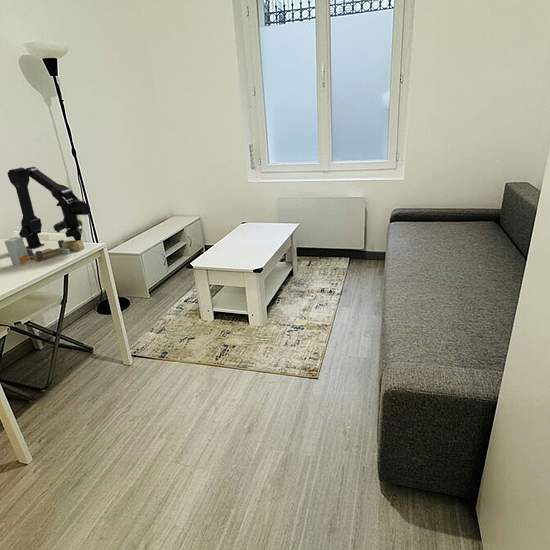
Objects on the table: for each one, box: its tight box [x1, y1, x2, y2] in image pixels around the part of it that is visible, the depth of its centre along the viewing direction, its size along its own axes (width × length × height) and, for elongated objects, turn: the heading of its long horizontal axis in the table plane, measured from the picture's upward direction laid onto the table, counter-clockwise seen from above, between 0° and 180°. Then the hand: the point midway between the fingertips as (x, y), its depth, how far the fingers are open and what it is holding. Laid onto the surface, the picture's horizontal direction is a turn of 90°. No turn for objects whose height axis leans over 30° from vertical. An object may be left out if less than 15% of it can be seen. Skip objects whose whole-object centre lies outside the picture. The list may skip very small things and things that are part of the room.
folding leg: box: [57, 239, 85, 252], centre depth 191 cm, size 12×4×5 cm, turn 83°
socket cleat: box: [57, 247, 71, 256], centre depth 187 cm, size 7×2×2 cm, turn 59°
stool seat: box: [26, 247, 63, 263], centre depth 185 cm, size 11×13×4 cm
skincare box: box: [4, 236, 31, 267], centre depth 176 cm, size 6×4×12 cm
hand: (79, 244), depth 194 cm, fingers closed
